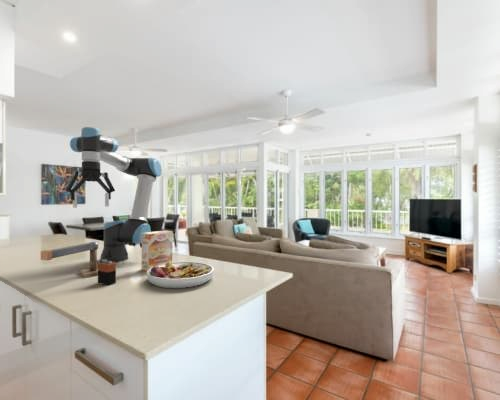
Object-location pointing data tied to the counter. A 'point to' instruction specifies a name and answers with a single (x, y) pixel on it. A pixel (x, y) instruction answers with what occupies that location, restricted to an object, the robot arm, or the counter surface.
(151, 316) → the counter surface
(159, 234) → the coffeecake box
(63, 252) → the swing arm
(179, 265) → the bowl
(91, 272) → the arm post
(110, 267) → the battery
